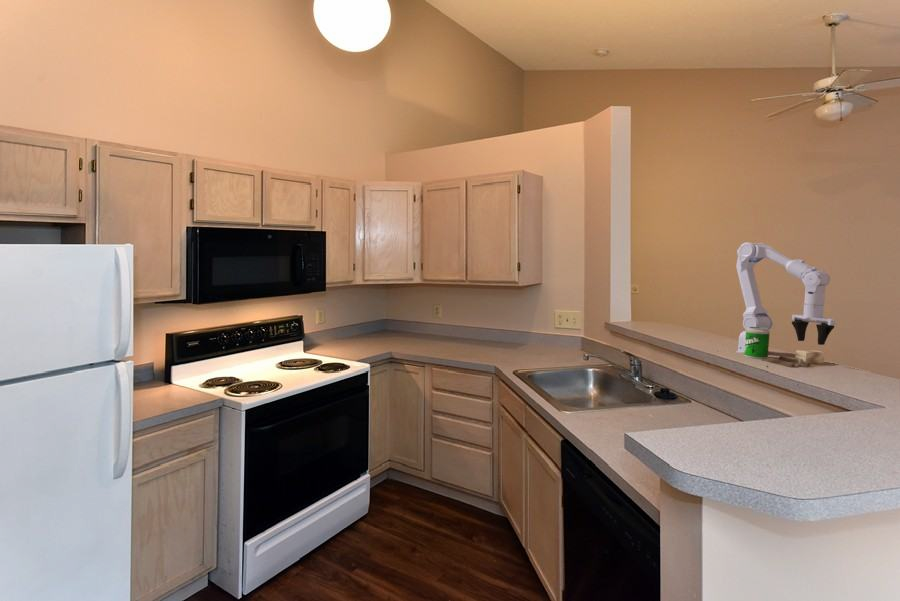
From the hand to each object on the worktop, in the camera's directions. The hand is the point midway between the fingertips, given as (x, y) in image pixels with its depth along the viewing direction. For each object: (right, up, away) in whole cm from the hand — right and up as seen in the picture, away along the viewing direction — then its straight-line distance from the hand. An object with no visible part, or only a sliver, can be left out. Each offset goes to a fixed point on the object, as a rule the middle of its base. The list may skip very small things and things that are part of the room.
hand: (810, 342), depth 176 cm
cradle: (-5, -8, 0) cm, 10 cm away
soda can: (-14, -7, +9) cm, 18 cm away
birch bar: (0, -7, +1) cm, 7 cm away
